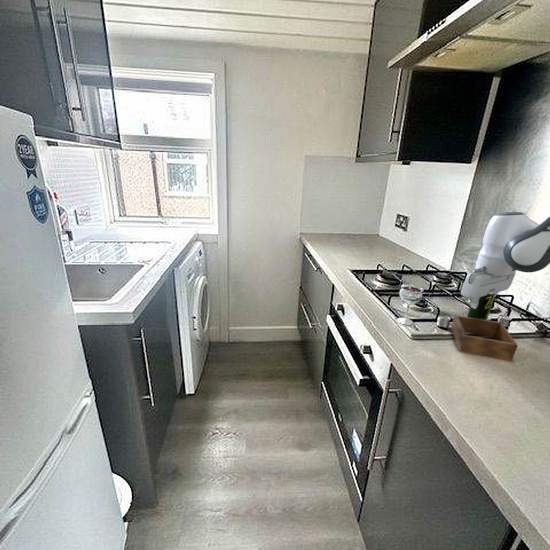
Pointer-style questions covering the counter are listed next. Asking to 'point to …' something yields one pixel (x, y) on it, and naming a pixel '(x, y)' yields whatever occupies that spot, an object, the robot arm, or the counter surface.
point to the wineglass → (409, 299)
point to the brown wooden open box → (496, 348)
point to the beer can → (482, 307)
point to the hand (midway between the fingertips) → (480, 305)
